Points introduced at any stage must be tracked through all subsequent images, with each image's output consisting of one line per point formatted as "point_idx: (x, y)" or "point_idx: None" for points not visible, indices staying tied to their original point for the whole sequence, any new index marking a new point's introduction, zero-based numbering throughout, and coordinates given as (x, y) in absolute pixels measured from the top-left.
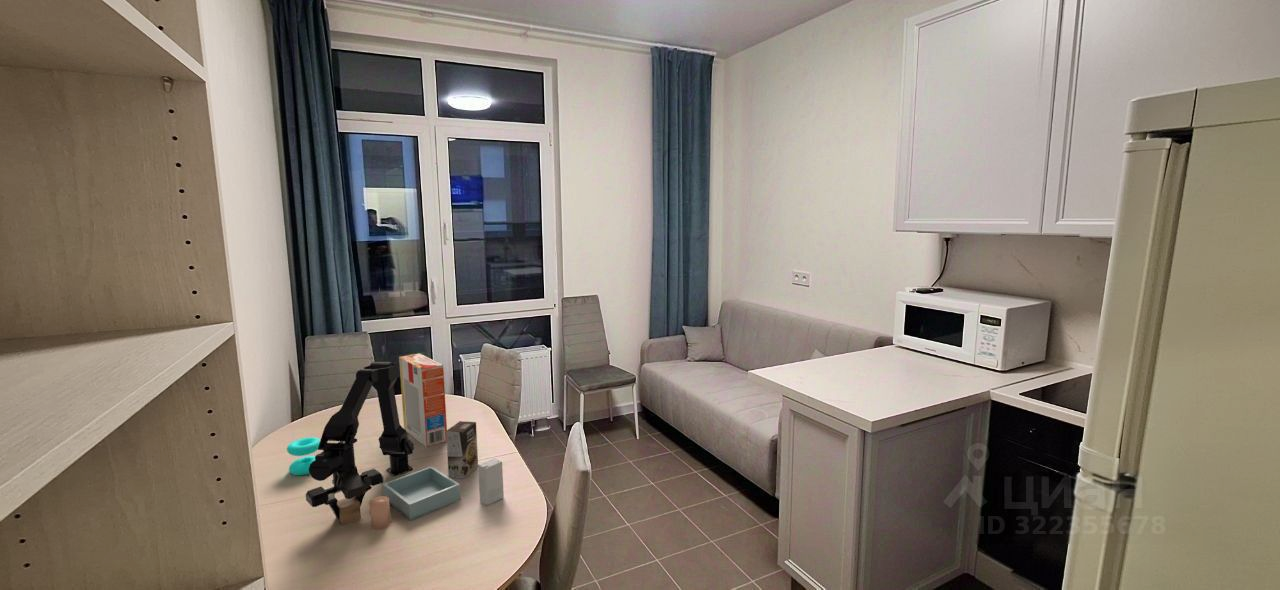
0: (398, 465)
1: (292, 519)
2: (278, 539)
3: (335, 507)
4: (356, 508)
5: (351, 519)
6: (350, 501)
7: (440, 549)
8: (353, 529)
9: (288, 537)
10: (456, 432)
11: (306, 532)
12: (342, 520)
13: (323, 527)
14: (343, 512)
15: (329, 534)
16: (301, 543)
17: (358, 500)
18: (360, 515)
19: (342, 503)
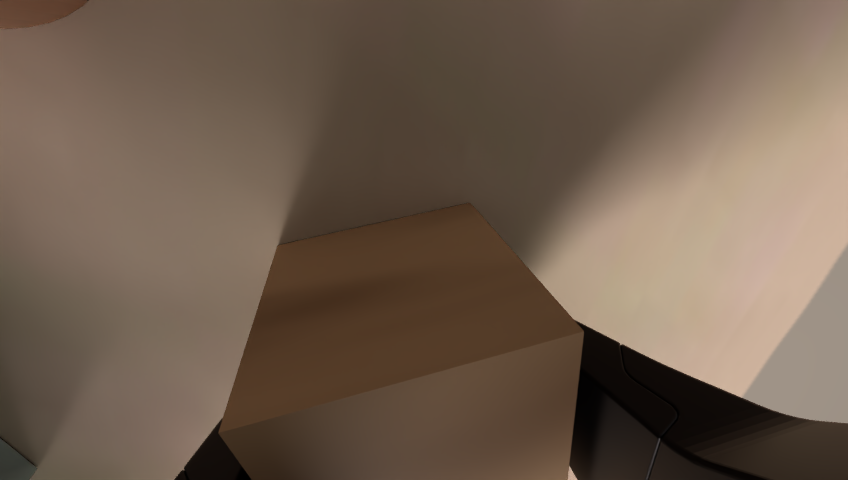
0: None
1: None
2: (824, 256)
3: (643, 384)
4: (308, 321)
5: (381, 233)
6: (385, 474)
7: None
8: (391, 6)
9: (788, 247)
10: None
11: (699, 248)
12: (482, 225)
13: (595, 254)
14: (503, 284)
15: (617, 88)
16: (817, 90)
17: (244, 468)
18: (277, 260)
19: (501, 458)
